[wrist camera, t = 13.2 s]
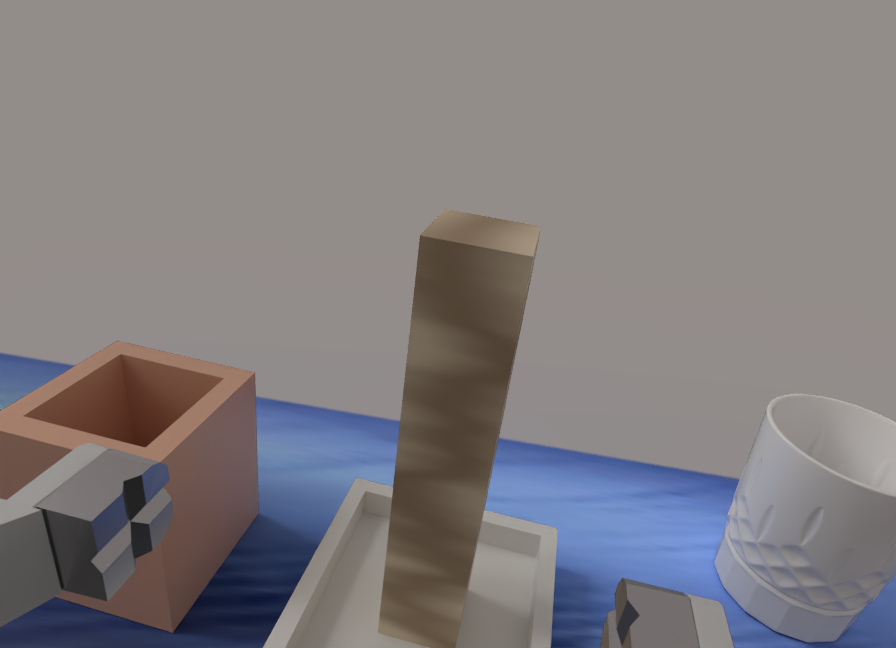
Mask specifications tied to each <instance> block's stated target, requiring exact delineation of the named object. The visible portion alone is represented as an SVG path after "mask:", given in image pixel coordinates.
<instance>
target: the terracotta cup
mask: <svg viewBox="0 0 896 648" xmlns="http://www.w3.org/2000/svg"><path fill="white" fill-rule="evenodd" d="M87 443H93V444H96V445H100V446H104V447H107V448H111V449H116V450H120V451H123V452H127V453H130V454H134V455H137V456H141V457H144V458H148V459H151V460H155V461H159V462H161V463H163V464H165V465H167V466H168V471H169V477H170V481H169V482H168V483H167V484H166V485H165V486H164V489H165V490H166V491H167V493H168V494H169V495H170V497H171V498H172V501H173V514H172V520H171V523H170V526H169V528H168V530H167V532H166V534H165V536H164V538H163V539H162V540H161V541H160V543H159V544H158V545H157V546H156V547H155V549H154V550H153V551H151V552H149V553H147V554H144V555H142V556H140V557H138V558H136V567H135V571H134V573H133V574H132V575H131V576H130V577H129V578H128V579H127V580H126V582H125V583H124V584H123V585H122V586H121V587H120V588H119V589H118V591H117V592H116V593H115V594H114V595H113V596H112V597H111V598H110V600H109V601H108V602H107V601H103V600H99V599H96V598H92V597H88V596H84V595H80V594H76V593H72V592H68V591H65V590H62V593H61V594H59V595H57V596H55V597H57V598H60V599H63V600H67V601H70V602H73V603H77V604H80V605H83V606H86V607H90V608H93V609H96V610H99V611H103V612H106V613H109V614H113V615H116V616H119V617H122V618H126V619H129V620H132V621H135V622H139V623H142V624H145V625H149V626H152V627H155V628H158V629H162V630H165V631H168V632H171V633H173V632H174V630H175V629H176V628H177V626H178V625H179V623H180V622H181V621H182V619H183V618H184V616H185V615H186V614H187V612H188V611H189V610H190V608H191V607H192V605H193V604H194V603H195V601H196V600H197V598H198V597H199V596H200V594H201V593H202V591H203V590H204V589H205V587H206V586H207V585H208V583H209V582H210V580H211V579H212V578H213V576H214V575H215V573H216V572H217V571H218V569H219V568H220V566H221V565H222V564H223V562H224V561H225V560H226V558H227V557H228V555H229V554H230V553H231V551H232V550H233V548H234V547H235V546H236V544H237V543H238V541H239V540H240V539H241V537H242V536H243V534H244V533H245V532H246V530H247V529H248V528H249V526H250V525H251V523H252V522H253V521H254V519H255V518H256V516H257V515H258V514H259V502H258V465H257V427H256V391H255V372H250V371H246V370H242V369H237V368H233V367H229V366H224V365H220V364H216V363H212V362H207V361H203V360H199V359H194V358H190V357H186V356H181V355H177V354H172V353H168V352H164V351H160V350H155V349H151V348H146V347H142V346H138V345H134V344H129V343H125V342H120V341H116V342H114V343H112V344H111V345H109V346H107V347H106V348H104V349H103V350H101V351H99V352H97V353H96V354H94V355H92V356H91V357H89V358H87V359H86V360H84V361H83V362H81V363H79V364H77V365H76V366H74V367H72V368H71V369H69V370H67V371H66V372H64V373H62V374H61V375H59V376H57V377H56V378H54V379H52V380H51V381H49V382H47V383H46V384H44V385H42V386H41V387H39V388H37V389H36V390H34V391H32V392H31V393H29V394H27V395H26V396H24V397H22V398H21V399H19V400H17V401H16V402H14V403H12V404H11V405H9V406H7V407H6V408H4V409H2V410H1V411H0V498H1V499H5V500H7V499H9V498H10V497H11V496H13V495H14V494H15V493H17V492H18V491H19V490H21V489H22V488H23V487H25V486H26V485H27V484H29V483H30V482H31V481H33V480H34V479H35V478H37V477H38V476H39V475H41V474H42V473H43V472H45V471H46V470H47V469H49V468H50V467H51V466H53V465H54V464H55V463H57V462H58V461H59V460H61V459H62V458H63V457H65V456H66V455H67V454H68V453H70V452H71V451H72V450H74V449H75V448H76V447H78V446H79V445H83V444H87Z"/></svg>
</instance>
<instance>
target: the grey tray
mask: <svg viewBox="0 0 896 648" xmlns="http://www.w3.org/2000/svg"><path fill="white" fill-rule="evenodd" d="M392 494H393V487H392V486H388V485H384V484H380V483H376V482H372V481H368V480H364V479H360V478H356V479H355V481H354V482H353V484H352V486H351V488H350V490H349V492H348V493H347V495H346V497H345V499H344V501H343V502H342V504H341V506H340V508H339V510H338V512H337V513H336V515H335V517H334V519H333V521H332V523H331V524H330V526H329V528H328V530H327V532H326V534H325V535H324V537H323V539H322V541H321V543H320V544H319V546H318V548H317V550H316V552H315V554H314V555H313V557H312V559H311V561H310V563H309V565H308V566H307V568H306V570H305V572H304V574H303V575H302V577H301V579H300V581H299V583H298V585H297V586H296V588H295V590H294V592H293V594H292V596H291V597H290V599H289V601H288V603H287V605H286V606H285V608H284V610H283V612H282V614H281V616H280V617H279V619H278V621H277V623H276V625H275V627H274V628H273V630H272V632H271V634H270V636H269V637H268V639H267V641H266V643H265V645H264V647H263V648H429V647H426V646H422V645H419V644H415V643H412V642H408V641H405V640H401V639H398V638H395V637H391V636H388V635H384V634H381V633H378V625H379V616H380V606H381V597H382V588H383V578H384V569H385V559H386V550H387V541H388V531H389V522H390V513H391V503H392ZM557 531H558V528H554V527H550V526H546V525H542V524H538V523H534V522H530V521H526V520H522V519H518V518H514V517H511V516H507V515H503V514H499V513H495V512H491V511H487V510H484V513H483V518H482V523H481V528H480V533H479V538H478V543H477V548H476V553H475V558H474V563H473V568H472V573H471V578H470V583H469V588H468V592H467V597H466V601H465V606H464V610H463V615H462V619H461V624H460V629H459V633H458V638H457V642H456V647H455V648H551V634H552V617H553V599H554V582H555V565H556V548H557Z"/></svg>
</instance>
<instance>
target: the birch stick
mask: <svg viewBox="0 0 896 648" xmlns="http://www.w3.org/2000/svg"><path fill="white" fill-rule="evenodd" d="M540 230H541V226H535V225H529V224H524V223H519V222H513V221H507V220H502V219H496V218H491V217H485V216H480V215H474V214H468V213H463V212H458V211H452V210H447V209H445V210H444V211H443V212H442V213H441V214H440V215H439V216H438V217H437V218H436V219H435V220H434V221H433V222H432V224H430V226H429V227H428V228H427V229H426V230H425V231H424V232H423V233H422V234H421V235H420V242H419V251H418V261H417V270H416V280H415V288H414V298H413V307H412V316H411V326H410V336H409V345H408V354H407V363H406V372H405V373H406V374H405V382H404V391H403V400H402V401H403V402H402V411H401V419H400V429H399V438H398V447H397V457H396V466H395V475H394V485H393V494H392V503H391V513H390V522H389V531H388V541H387V550H386V559H385V569H384V578H383V588H382V597H381V606H380V616H379V625H378V633H381V634H384V635H388V636H391V637H395V638H398V639H401V640H405V641H408V642H412V643H415V644H419V645H422V646H426V647H429V648H455V647H456V642H457V638H458V633H459V629H460V624H461V619H462V615H463V610H464V606H465V601H466V597H467V592H468V588H469V583H470V578H471V573H472V568H473V563H474V558H475V553H476V548H477V543H478V538H479V533H480V528H481V523H482V518H483V513H484V508H485V503H486V498H487V493H488V488H489V483H490V479H491V474H492V469H493V464H494V459H495V454H496V449H497V444H498V439H499V434H500V428H501V424H502V419H503V414H504V409H505V404H506V399H507V394H508V389H509V384H510V379H511V374H512V369H513V364H514V359H515V354H516V349H517V344H518V340H519V334H520V330H521V325H522V320H523V314H524V309H525V305H526V300H527V295H528V290H529V285H530V280H531V274H532V270H533V265H534V260H535V255H536V250H537V245H538V240H539V235H540Z"/></svg>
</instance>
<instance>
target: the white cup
mask: <svg viewBox="0 0 896 648" xmlns="http://www.w3.org/2000/svg"><path fill="white" fill-rule="evenodd" d="M714 565H715V567H716V570H717V572H718V575H719V578H720V580H721V583H722V585H723V587H724V588H725V590H726V591H727V592H728V593H729V594H730V595H731V596H732V597H733V599H734V600H735V601H736V602H737V603H738V604H739V605H740V606H741V608H742V609H743V610H744V611H745V612H747V613H748V614H750V615H751V616H753V617H754V618H756V619H757V620H759V621H760V622H762V623H763V624H765V625H766V626H768V627H769V628H771V629H772V630H774V631H776V632H778V633H781V634H784V635H787V636H790V637H793V638H796V639H798V640H801V641H804V642H830V641H836V640H837V639H838V638H839V637H840V636H841V635H842V634H843V633H844V632H845V631H846V630H847V629H849V628H850V626H851V625H852V624H853V623H854V621H855V620H856V618H857V617H858V616H859V614H860V613H861V612H862V610H863V609H864V608H865V607H866V605H868V604H870V603H872V602H873V601H874V600H875V599H876V597H877V596H878V595H879V593H880V592H881V591H882V589H883V588H884V587H885V586H886V585H887V584H888V583H889V582H890V581H891V579H892V578H893V577H894V576H895V575H896V422H895V421H893V420H891V419H888V418H886V417H884V416H882V415H880V414H877V413H875V412H873V411H870V410H868V409H865V408H863V407H860V406H857V405H854V404H851V403H848V402H845V401H841V400H837V399H833V398H828V397H824V396H818V395H811V394H787V395H783V396H779V397H777V398H775V399H773V400H772V401H771V402H770V403H769V405H768V407H767V409H766V412H765V414H764V417H763V420H762V423H761V425H760V428H759V430H758V433H757V436H756V438H755V441H754V444H753V446H752V449H751V452H750V454H749V457H748V460H747V462H746V465H745V467H744V470H743V472H742V475H741V478H740V480H739V483H738V486H737V488H736V491H735V494H734V497H733V502H732V505H731V507H730V509H729V512H728V515H727V524H726V527H725V529H724V532H723V534H722V537H721V539H720V542H719V545H718V549H717V553H716V557H715V562H714Z"/></svg>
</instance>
